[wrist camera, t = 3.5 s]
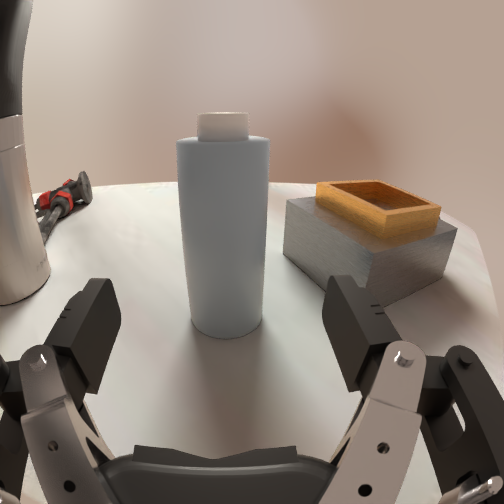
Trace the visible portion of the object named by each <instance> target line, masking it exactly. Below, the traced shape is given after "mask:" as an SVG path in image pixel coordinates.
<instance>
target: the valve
mask: <svg viewBox="0 0 504 504" xmlns="http://www.w3.org/2000/svg"><path fill="white" fill-rule="evenodd" d="M80 199H82V200H84V201H85V203H86V204H90V203H91V201H92V190H91V185H90V182H89V179H88V176H87V174H86V173H85V172H84V171H83V172H80V173H79V177H78V180H77V181H73V180H71V179H69V180H67V181H66V182H65V183H64V184H63V186H62V187H60V188H57V189H56V190H54V191H48V192H45V193H43V194H41V195H40V196H39V198H38V199H37V202H36V204H35V205H34V207H35V210H36V209H38V210H39V211H40V212H37V213H36V216H37V218H39V217H42V216H44V215H45V216H44V218H43V219H42V221H41V222H40V224H39V229H40V232H41V236H42V240H43V244H44V243H45V241H46V239H47V237H48V235H49V233H50V231H51V229H52V228H53V226H54V224H55V222H56V220H57V218H61V217H63V216H66V215H67V214H68V213H69V212H70V211H71V210H72V208H73V206H74V205H73V202H75V201H78V200H80Z"/></svg>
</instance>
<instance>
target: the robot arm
mask: <svg viewBox="0 0 504 504" xmlns="http://www.w3.org/2000/svg"><path fill="white" fill-rule="evenodd" d="M32 5H33V0H0V305H6V304H11V303H14V302H17V301H19V300H21V299H24V298H26V297H27V296H29V295H31V294H32V293H34V292H35V291H36V290H37V289H39V288H40V287H41V286H42V285H43V284H44V283H45V281H46V280H47V279H48V277H49V275H50V272H51V268H50V264H49V261H48V258H47V253H46V250H45V247H44V244H43V240H42V236H41V232H40V229H39V225H38V220H37V216H36V212H35V207H34V202H33V198H32V192H31V187H30V181H29V175H28V169H27V162H26V153H25V145H24V133H23V117H22V70H23V58H24V50H25V44H26V39H27V33H28V28H29V23H30V17H31V12H32ZM322 319H323V324H324V327H325V329H326V332H327V335H328V337H329V340H330V342H331V345H332V348H333V350H334V353H335V356H336V358H337V361H338V364H339V367H340V369H341V372H342V375H343V377H344V380H345V383H346V386H347V389H348V391H349V392H354V391H359V390H360V392H361V394H362V398H361V399H360V401H359V404H358V406H357V408H356V410H355V413H354V415H353V417H352V419H351V421H350V424H349V426H348V428H347V430H346V432H345V434H344V436H343V438H342V440H341V442H340V444H339V445H338V447H337V449H336V450H335V452H334V454H333V455H332V457H331V459H330V461H329V462H326V461H323V460H321V459H318V458H314V457H310V456H305V455H297V450H296V446H288V447H279V448H268V449H255V450H252V451H248V452H244V453H240V454H237V455H233V456H229V457H224V458H220V459H208V458H203V457H199V456H196V455H192V454H188V453H185V452H181V451H178V450H174V449H168V448H157V447H148V446H140V445H135V446H134V453H133V454H129V455H125V456H121V457H117V458H115V456H114V455H113V454H112V452H111V451H110V449H109V448H108V447H107V445H106V444H105V442H104V440H103V438H102V436H101V434H100V432H99V430H98V428H97V426H96V424H95V422H94V420H93V418H92V415H91V413H90V411H89V409H88V407H87V404H86V402H85V401H84V396H85V393H91V394H97V393H98V390H99V387H100V384H101V380H102V377H103V374H104V371H105V368H106V365H107V362H108V359H109V356H110V354H111V351H112V348H113V345H114V342H115V340H116V337H117V334H118V331H119V329H120V326H121V312H120V308H119V305H118V302H117V298H116V295H115V291H114V288H113V284H112V281H111V280H110V279H108V278H91V279H90V280H89V281H88V283H87V284H86V286H85V287H84V289H83V291H79V292H78V293H77V294H75V295H74V296H73V297H72V298H71V299H70V300H69V301H68V303H67V305H66V306H65V308H64V310H63V311H62V313H61V314H60V318H58V319H57V321H56V323H55V324H54V326H53V328H52V330H51V331H50V333H49V335H48V337H47V339H46V340H45V342H44V344H43V345H36V346H33V347H31V348H29V349H28V350H27V351H26V352H25V353H24V354H23V355H22V357H21V359H20V360H18V361H9V362H5V361H4V359H3V358H2V356H1V355H0V407H1V408H2V409H3V410H4V412H3V415H2V418H1V420H0V504H21V503H20V496H21V489H22V483H23V478H24V472H25V467H26V463H27V458H28V454H30V457H31V460H32V463H33V466H34V469H35V472H36V474H37V477H38V480H39V483H40V485H41V488H42V490H43V493H44V495H45V497H46V500H47V502H48V504H394V503H395V501H396V499H397V496H398V494H399V491H400V489H401V486H402V483H403V481H404V478H405V475H406V472H407V469H408V466H409V463H410V460H411V457H412V454H413V451H414V447H415V444H416V440H417V436H418V433H419V429H420V430H421V432H422V435H423V438H424V441H425V444H426V446H427V449H428V452H429V455H430V458H431V461H432V464H433V467H434V470H435V473H436V477H437V480H438V483H439V487H440V490H441V493H442V497H441V499H440V501H439V503H438V504H504V400H503V399H502V397H501V395H500V393H499V391H498V390H497V388H496V386H495V384H494V383H493V381H492V379H491V377H490V376H489V374H488V372H487V371H486V369H485V367H484V366H483V364H482V363H481V361H480V359H479V358H478V356H477V355H476V354H475V353H474V352H473V351H472V350H471V349H469V348H467V347H465V346H461V345H457V346H453V347H451V348H450V349H449V350H448V352H447V354H446V355H445V357H438V356H425V354H424V353H423V351H422V350H421V349H420V348H419V347H418V346H417V345H415V344H413V343H411V342H408V341H402V339H401V338H400V336H399V334H398V333H397V331H396V329H395V328H394V326H393V324H392V323H391V321H390V320H389V318H388V316H387V315H386V314H385V312H384V310H383V309H382V307H381V306H380V304H379V302H378V301H377V299H376V298H375V296H374V295H373V294H372V293H370V292H369V291H368V290H367V289H365V288H364V287H358V285H357V283H356V282H355V280H354V279H353V277H352V276H351V275H331V276H330V277H329V280H328V284H327V289H326V294H325V299H324V304H323V309H322ZM455 402H456V404H457V406H458V408H459V410H460V412H461V414H462V417H463V419H464V421H465V431H463V429H462V426H461V424H460V422H459V419H458V417H457V415H456V413H455V411H454V408H453V406H452V405H453V404H454V403H455Z"/></svg>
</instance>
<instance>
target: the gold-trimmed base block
mask: <svg viewBox="0 0 504 504" xmlns="http://www.w3.org/2000/svg"><path fill="white" fill-rule="evenodd" d="M440 211H441V206H439V205H437V204H434V203H432V202H430V201H428V200H426V199H424V198H421V197H419V196H416V195H414V194H412V193H410V192H407V191H405V190H403V189H400V188H397V187H395V186H393V185H390V184H388V183H385V182H383V181H380V180H355V181H354V180H353V181H333V182H318V183H317V187H316V197H306V198H297V199H288V200H287V202H286V217H285V230H284V244H283V254H284V255H286V256H287V257H288V258H289V259H290V260H291V261H292V262H293V263H295V264H296V265H297V266H298V267H299V268H300V269H301V270H302V271H303V272H305V273H306V274H307V275H308V276H309V277H310V278H311V279H312V280H313V281H314V282H316V283H317V284H318V285H319V286H320V287H321V288H322V289H323V290H324V291H325V292H326V289H327V284H328V280H329V277H330V276H331V275H351V276H352V277H353V279H354V280H355V282H356V283H357V285H358V287H364V288H365V289H367V290H368V291H369V292H370V293H372V294H373V295H374V296H375V298H376V299H377V301H378V302H379V304H380V306H381V307H382V308H383V307H385V306H387V305H389V304H391V303H393V302H396V301H398V300H400V299H402V298H404V297H406V296H408V295H410V294H412V293H414V292H416V291H418V290H420V289H421V288H423V287H425V286H427V285H429V284H431V283H433V282H435V281H437V280H438V279H440V278H442V275H443V273H444V270H445V267H446V264H447V261H448V258H449V255H450V252H451V249H452V246H453V243H454V239H455V236H456V232H457V229H458V228H456V227H454V226H452V225H450V224H448V223H446V222H445V221H443V220H441V219H440V217H439V215H440Z"/></svg>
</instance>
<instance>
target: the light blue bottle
mask: <svg viewBox="0 0 504 504" xmlns="http://www.w3.org/2000/svg"><path fill="white" fill-rule="evenodd" d="M176 150H177V172H178V190H179V205H180V218H181V230H182V241H183V252H184V261H185V270H186V279H187V288H188V296H189V303H190V311H191V318H192V322H193V324H194V326H195V327H196V328H197V329H198V330H199V331H200V332H202V333H203V334H205V335H208V336H210V337H214V338H219V339H232V338H238V337H241V336H244V335H247V334H249V333H250V332H252V331H253V330H254V329H256V327H257V326H258V325H259V324H260V321H261V318H262V304H263V286H264V267H265V247H266V227H267V205H268V181H269V156H270V139H267V138H263V137H257V136H249V113H199V114H197V137H190V138H184V139H180V140H178V141H176Z"/></svg>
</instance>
